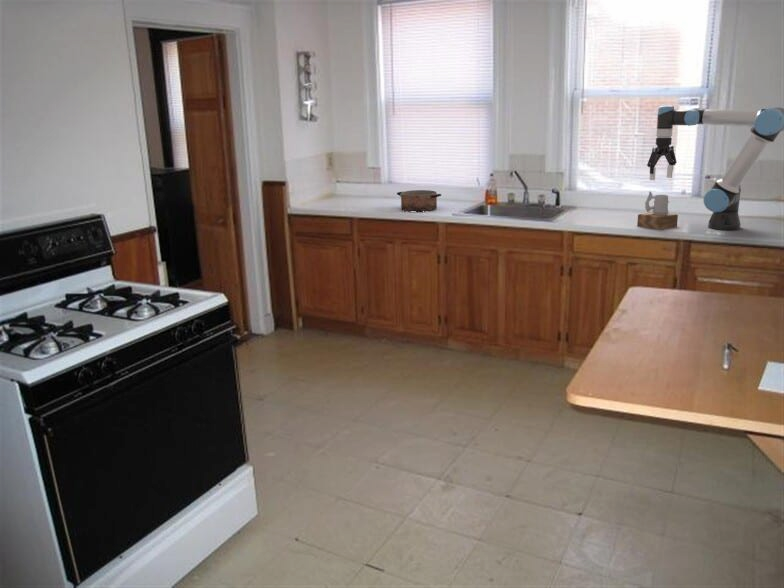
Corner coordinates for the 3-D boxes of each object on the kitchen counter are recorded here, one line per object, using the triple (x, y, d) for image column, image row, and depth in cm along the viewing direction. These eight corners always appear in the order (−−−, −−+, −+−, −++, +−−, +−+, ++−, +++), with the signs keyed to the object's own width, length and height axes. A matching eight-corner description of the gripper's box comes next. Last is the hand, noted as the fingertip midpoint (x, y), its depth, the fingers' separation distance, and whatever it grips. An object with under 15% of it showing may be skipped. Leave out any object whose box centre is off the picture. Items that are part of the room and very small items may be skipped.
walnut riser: (676, 226, 371) (677, 214, 370) (659, 229, 364) (660, 217, 363) (654, 222, 383) (655, 211, 381) (637, 225, 376) (638, 214, 374)
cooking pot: (448, 208, 448) (448, 191, 445) (431, 214, 430) (430, 196, 427) (407, 205, 464) (407, 189, 461) (389, 210, 446) (389, 193, 443)
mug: (669, 215, 367) (671, 192, 364) (645, 215, 369) (647, 192, 366) (666, 213, 374) (668, 190, 371) (643, 213, 376) (644, 190, 373)
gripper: (673, 135, 370) (670, 176, 376) (641, 138, 358) (638, 180, 364) (685, 135, 364) (682, 177, 370) (654, 138, 352) (650, 181, 358)
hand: (660, 179), depth 367 cm, fingers open, 13 cm apart
